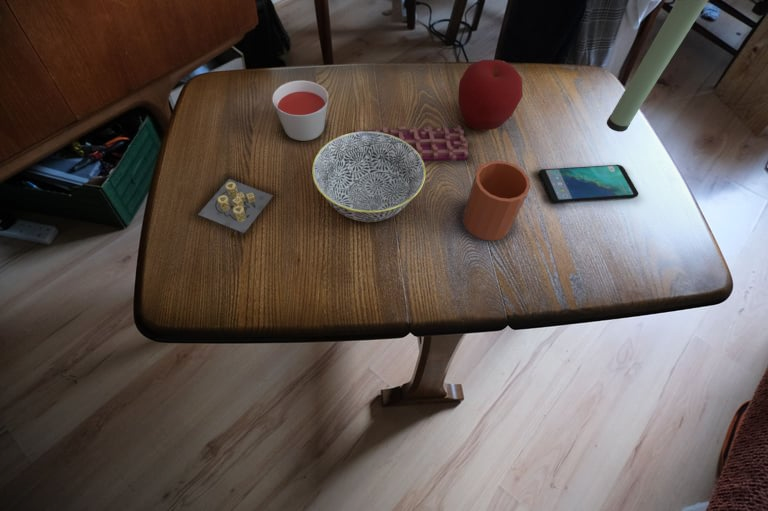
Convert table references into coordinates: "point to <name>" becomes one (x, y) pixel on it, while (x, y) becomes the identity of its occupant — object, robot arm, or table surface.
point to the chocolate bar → (432, 142)
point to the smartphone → (587, 183)
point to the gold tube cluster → (236, 205)
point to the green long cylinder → (655, 61)
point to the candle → (301, 109)
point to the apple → (489, 94)
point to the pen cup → (495, 200)
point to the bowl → (368, 175)
